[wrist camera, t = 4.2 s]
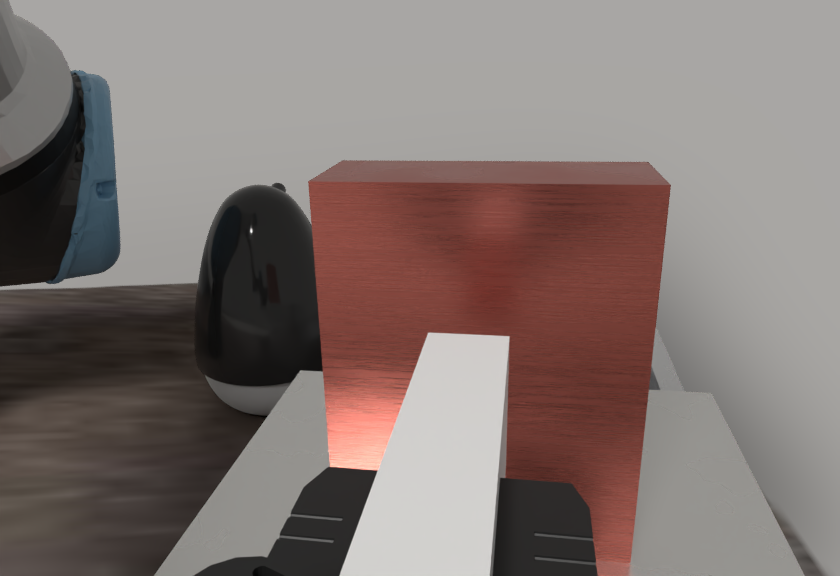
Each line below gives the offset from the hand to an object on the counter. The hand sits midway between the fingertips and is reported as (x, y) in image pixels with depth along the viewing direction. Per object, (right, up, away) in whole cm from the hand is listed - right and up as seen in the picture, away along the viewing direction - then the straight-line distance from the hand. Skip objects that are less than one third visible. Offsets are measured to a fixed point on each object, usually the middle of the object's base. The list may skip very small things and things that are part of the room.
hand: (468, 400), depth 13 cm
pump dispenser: (-11, -6, +35) cm, 38 cm away
